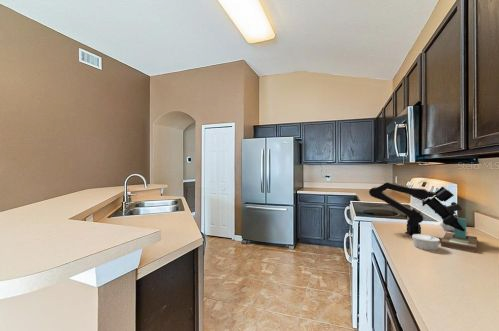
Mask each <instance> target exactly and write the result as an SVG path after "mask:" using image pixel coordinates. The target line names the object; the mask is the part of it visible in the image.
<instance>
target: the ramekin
mask: <svg viewBox="0 0 499 331" xmlns="http://www.w3.org/2000/svg"><path fill="white" fill-rule="evenodd" d="M411 238H412V241H413V246H414V247H415V248H417V249H419V250H423V251H430V252H432V251H437V250H438V248H439V244H440V243H441V240H440V239H439V238H438V237H437V236H433V235H428V234H422V233H421V234H414V235H411Z"/></svg>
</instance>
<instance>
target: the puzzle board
mask: <svg viewBox="0 0 499 331" xmlns="http://www.w3.org/2000/svg"><path fill="white" fill-rule="evenodd" d="M440 246H441V247H445V248H449V249H455V250H460V251H465V252H470V253H477V248H478V237H477V236H473V235H467V234H466V239H463V238H457V237H455V236H454V233H452V232H448V231H445V233H444V235H443V236H442V239H441V240H440Z"/></svg>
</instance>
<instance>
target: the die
mask: <svg viewBox="0 0 499 331" xmlns="http://www.w3.org/2000/svg"><path fill="white" fill-rule="evenodd" d="M439 226H440V227H441V228H442V230H443V231H445V232H454V227H451V226H449V225H445V224H444V223H443V219H442V218H441V221H440V223H439Z"/></svg>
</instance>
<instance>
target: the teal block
mask: <svg viewBox="0 0 499 331" xmlns="http://www.w3.org/2000/svg"><path fill="white" fill-rule="evenodd" d="M457 221H458V223H459V224H460V225H461V226H462V227H463V228H464V230H465V231H461V230H458V229H456V228H454V231H453V232H454V236H455V237H457V238H463V239H466V235H467V218H465V217H458V216H457Z"/></svg>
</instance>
